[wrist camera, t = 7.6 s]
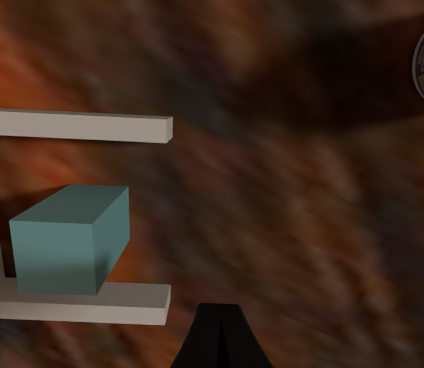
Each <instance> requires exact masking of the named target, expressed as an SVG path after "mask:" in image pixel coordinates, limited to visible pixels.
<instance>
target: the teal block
mask: <svg viewBox="0 0 424 368" xmlns="http://www.w3.org/2000/svg"><path fill="white" fill-rule="evenodd" d="M9 224H10V232H11V239H12V246H13V254H14V261H15V268H16V276H17V283H18V290H19V293H42V294H66V295H90V296H96V295H97V294H98V292H99V290H100V289H101V287H102V285H103V284H104V282H105V280H106V279H107V277H108V275H109V273H110V272H111V270H112V268H113V267H114V265H115V263H116V262H117V260H118V258H119V257H120V255H121V253H122V252H123V250H124V248H125V247H126V245H127V243H128V241H129V240H130V233H129V196H128V187H123V186H101V185H79V184H70V185H68V186H66V187H65V188H63V189H61V190H60V191H58V192H56V193H55V194H53V195H51V196H49V197H48V198H46V199H44V200H43V201H41V202H39V203H38V204H36V205H34V206H33V207H31V208H29V209H28V210H26V211H24V212H23V213H21V214H19V215H17V216H16V217H14V218H12V219H11V220H9Z"/></svg>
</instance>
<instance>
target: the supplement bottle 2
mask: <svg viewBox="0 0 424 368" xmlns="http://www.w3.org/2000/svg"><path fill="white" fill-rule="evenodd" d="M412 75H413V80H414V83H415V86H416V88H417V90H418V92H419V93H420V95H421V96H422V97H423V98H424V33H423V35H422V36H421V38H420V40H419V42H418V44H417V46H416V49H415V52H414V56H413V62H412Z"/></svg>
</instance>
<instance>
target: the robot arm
mask: <svg viewBox="0 0 424 368" xmlns="http://www.w3.org/2000/svg"><path fill="white" fill-rule="evenodd" d="M170 368H274V367H273V366H272V364H271V363H270V361H269V359H268V358H267V356H266V355H265V353H264V351H263V350H262V348H261V346H260V345H259V343H258V341H257V339H256V338H255V336H254V334H253V332H252V330H251V328H250V326H249V324H248V322H247V320H246V318H245V316H244V314H243V311H242V309H241V307H240V306H239V305H237V304H214V303H201V304H199V305H198V307H197V312H196V315H195V318H194V321H193V324H192V326H191V328H190V331H189V333H188V335H187V337H186V339H185V341H184V343H183V345H182V347H181V349H180V351H179V353H178V355H177V356H176V358H175V360H174V362H173V363H172V365H171V367H170Z"/></svg>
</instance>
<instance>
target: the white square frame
mask: <svg viewBox="0 0 424 368" xmlns="http://www.w3.org/2000/svg"><path fill="white" fill-rule="evenodd" d="M172 128H173V117H167V116H146V115H126V114H105V113H85V112H64V111H43V110H23V109H2V108H0V135H7V136H28V137H49V138H70V139H91V140H112V141H132V142H153V143H167V142H168V141H169V140H170V139H171V138H172ZM169 303H170V284H148V283H125V282H104V284H103V285H102V287H101V289H100V290H99V292H98V294H97V295H96V296H90V295H66V294H42V293H19V290H18V283H17V278H8V277H5V272H4V266H3V259H2V252H1V245H0V318H3V319H27V320H51V321H75V322H99V323H124V324H148V325H165V322H166V317H167V313H168V308H169Z"/></svg>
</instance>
